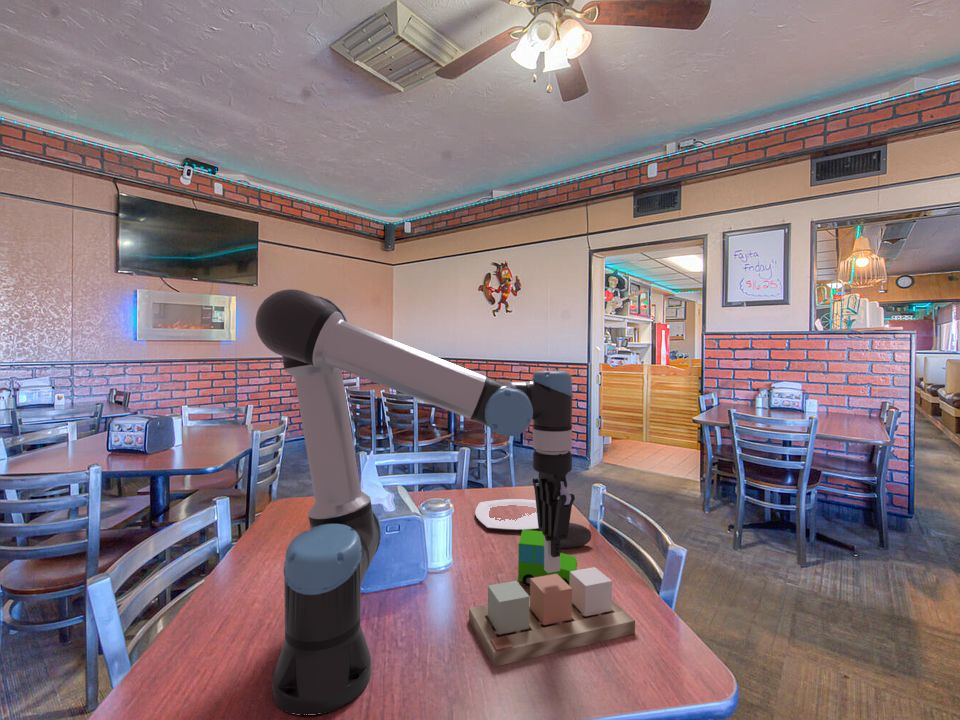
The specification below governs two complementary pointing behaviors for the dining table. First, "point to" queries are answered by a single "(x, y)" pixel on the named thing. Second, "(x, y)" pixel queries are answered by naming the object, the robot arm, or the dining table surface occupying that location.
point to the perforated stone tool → (575, 536)
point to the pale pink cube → (591, 591)
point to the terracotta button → (550, 599)
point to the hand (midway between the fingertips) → (552, 570)
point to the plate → (519, 524)
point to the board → (548, 634)
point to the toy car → (539, 559)
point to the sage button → (508, 607)
